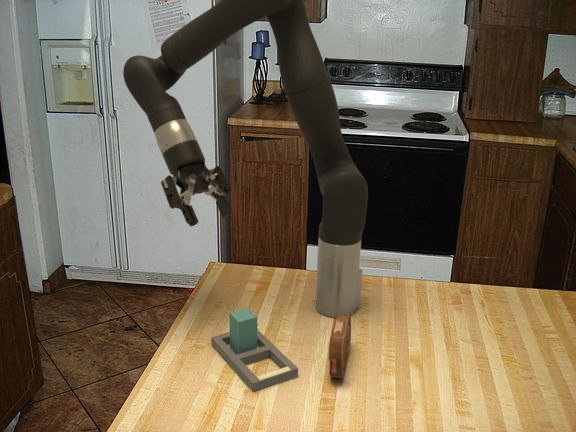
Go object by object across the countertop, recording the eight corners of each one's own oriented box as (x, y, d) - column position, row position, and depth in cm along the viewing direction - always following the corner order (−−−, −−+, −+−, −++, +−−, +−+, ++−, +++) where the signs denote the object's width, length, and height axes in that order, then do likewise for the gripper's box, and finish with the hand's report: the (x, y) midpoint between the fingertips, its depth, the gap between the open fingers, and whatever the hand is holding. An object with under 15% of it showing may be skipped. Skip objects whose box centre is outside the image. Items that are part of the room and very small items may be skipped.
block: (247, 342, 128) (247, 307, 126) (257, 352, 125) (257, 316, 122) (229, 348, 127) (229, 312, 124) (239, 357, 123) (239, 322, 120)
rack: (252, 332, 132) (253, 324, 131) (297, 376, 118) (298, 367, 117) (211, 344, 127) (211, 336, 127) (253, 391, 113) (253, 383, 113)
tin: (342, 388, 115) (345, 348, 112) (325, 385, 116) (327, 346, 113) (351, 343, 129) (354, 307, 126) (335, 341, 130) (338, 305, 127)
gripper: (159, 142, 120) (193, 220, 118) (216, 134, 130) (247, 206, 128) (141, 160, 125) (173, 235, 123) (196, 150, 135) (226, 219, 133)
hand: (211, 220), depth 125 cm, fingers open, 8 cm apart
